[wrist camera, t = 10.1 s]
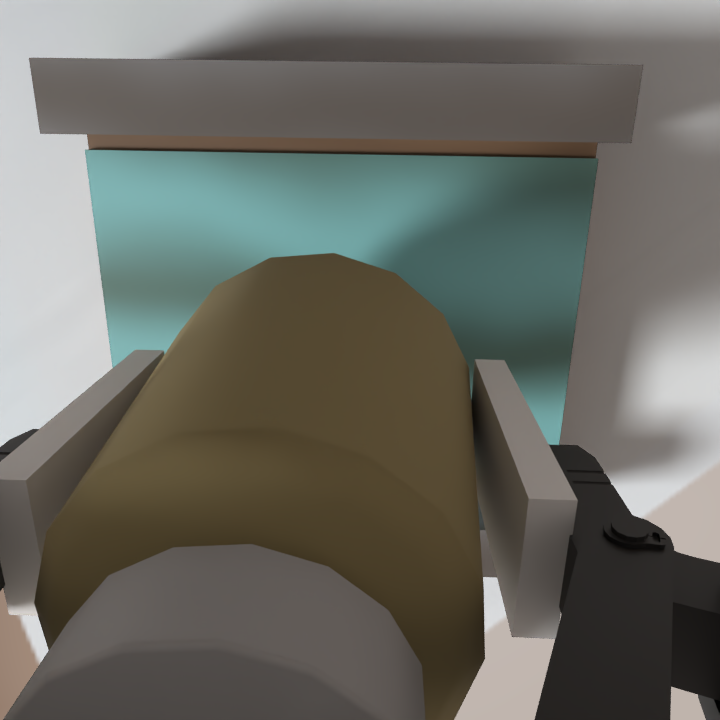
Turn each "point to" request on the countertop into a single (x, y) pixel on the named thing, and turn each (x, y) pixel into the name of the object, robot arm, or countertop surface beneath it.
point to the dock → (349, 189)
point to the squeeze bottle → (276, 518)
